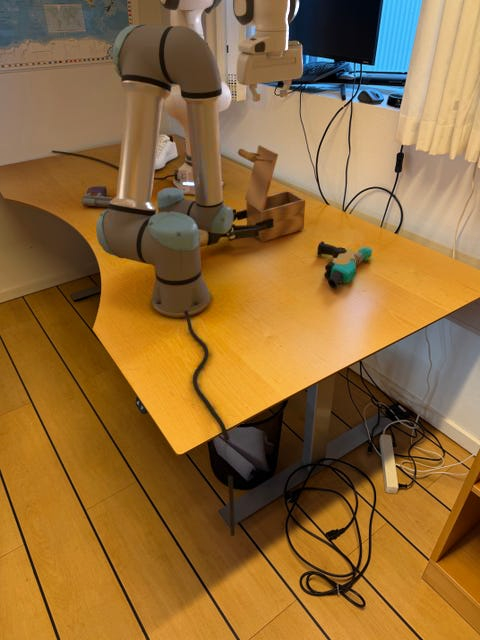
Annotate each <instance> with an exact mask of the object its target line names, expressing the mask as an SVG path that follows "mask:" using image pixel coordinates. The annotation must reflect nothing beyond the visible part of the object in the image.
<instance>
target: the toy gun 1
mask: <svg viewBox="0 0 480 640" xmlns="http://www.w3.org/2000/svg"><path fill="white" fill-rule="evenodd" d="M107 193H108V188H107V186H106V185H93V186H91V187H88V188H87V190H86V195H85V194H84V195H83V196H82V199H81V201H80V204H82V206H87V207H99V208H109V202H110V201H111V200H112V199H114V198H115V197H112V196H109V197H108V196H107Z"/></svg>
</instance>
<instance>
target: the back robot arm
mask: <svg viewBox="0 0 480 640" xmlns="http://www.w3.org/2000/svg"><path fill="white" fill-rule="evenodd" d="M222 1H223V0H159V3H160V4H161V5H162V7H163V8H164V9H167V10H169V11H170V13H169V15H170V16H169V17H170V19H169V20H170V23H169V24H170V26H184V27H188V28H190V29H192V30H194V31H195V32H197V33H198V34H199V35H200V36H201V37H202V38H203V39H204V40H205V36H204V30H203V25H202V15H203V12H205V13H206V14H210V13H211V12H212V10H214V9H216V8H217V7H218V6H220V4H221V3H222ZM299 7H300V0H232V10H233V15H234V17H235V19H236V20H237V22H238V23H239V24H240V25H241V26H245V27H254V34H253V35H251V36H250V37H247V38H245V39H244V40H242V41H240V42H239V43H238V46H237V47H238V52H240V53H239V55H238V56H237V59H236V81H237V82H238V84H239V85H241V86H248V89H249V91H250V93H251V96H252V102H254V103H257V102H260V101H261V94H259V93H258V91H257V88H258V84H259V85H261V84H265V83H274V82H281V81H282V83H283V87H282V88H281V89H279V98H283V99H284V98H288V91H289V89H290V88H291V85H292V80H298V79H301V77H302V76H303V73H304V64H303V62H304V61H303V45H302V43H300V42H299V40H289V25H290V24H291V23H292V21H294V19H295V17H297V13H298V11H299ZM221 85H222V96H221V97H220V98H219V99H218V111H219V113H221V112H223V111H226V110H228V109H229V107H230V105H231V102H232V92H231V89H230V87H229V86H228V84H227V83H226V82H225V81H223V80H221ZM163 107H164V109H165V112H166V113H167V114H168V116H170V117H171V118H173V119H174V120H175V121H176V122H177V123H178V124H179V125H180V127H181V129H182V131H183V134H184V139H185V147H186V152H184V153H183V154H184V163H183V164H181V165H180V167H179V168H178V169H174V171H173V174H169V175H165V176H164V177H154V180H166V179H168V178H173V177H174V179H173V180H172V184H173V185H174V186H175V188H178V189H180V190H182V191H183V194H184V195H194V196H195V190H194V179H193V169H192V158H191V148H190V137H189V127H188V116H187V106H186V101H185V100H184V99H183V98H182V97H181V90H180V86H179V84H175V85H174V86H171V94H170V96H169V97H167V98H166V99H165V100H164V101H163ZM51 153H58V154H65V155H72V156H77V157H82V158H87V159H91V160H95V161H98V162H101V163H103V164H106V165H108V166H111V167H113V168H116V169H118V170H119V165H118V166H117V165H116V164H113V163H110V162H109V161H105V160H103V159H100V158H97V157H94V156H89V155H85V154H80V153H74V152H67V151H60V150H51ZM223 186H224V181H223V180H222V187H223Z"/></svg>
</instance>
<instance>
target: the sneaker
mask: <svg viewBox="0 0 480 640" xmlns="http://www.w3.org/2000/svg"><path fill="white" fill-rule="evenodd" d="M178 156H179V155H178V149H177V144H176V140H175V136H174V135H173V134H164V133H161V134H159V139H158V148H157V156H156V164H155V171H156V170H160V169H162V168H164V167H165V166H166V164H167V163H168V162H170V161H172V160H175V159H176V158H177V157H178Z"/></svg>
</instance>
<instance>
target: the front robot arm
mask: <svg viewBox="0 0 480 640" xmlns="http://www.w3.org/2000/svg"><path fill="white" fill-rule="evenodd" d="M112 62H113V64H114V65H115V66H114V69H115V72H116V74H117V75H118V76H119V78H120V79H121V81H120V85H121V87H122V88H123V89H124V91H125V93H126V98H125V107H124V117H123V126H122V134H121V145H120V153H119V154H120V155H119V165H118V167H119V169H118V173H117V174H118V175H117V185H116V195H115V196H114V197H113V198H114V199H112V200H111V201H110V202H109V207H108V208H107V209H104V210H103V211H102V212H101V213H100V216H98V218H97V221H96V227H95V228H96V229H95V232H96V239H97V241H98V244H99V245H100V247H101V248H102V250H103V251H104V252H105V253H107V254H108V255H111V256H115V257H117V258H118V259H125V260H130V261H134V262H138V263H141V264H148V265H151V266H153V268H154V274H155V275H154V276H155V281H154V284H153V290H152V294H151V305H152V308H153V310H154V311H155V312H156V313H157V314H159V315H160V316H163V317H167V318H171V319H183V318H185V319H186V323H187V328H188V332H189V333H190V335H191V336H192V338H193V339H194V340H195V341H196V342H197V343H198V344H199V345H200V346H201V347H202V349H203V351H204V355H203V358H202V360H201V361H200V363H199V365H198V366H197V367H196V369H195V370H194V372H193V375H192V385H193V388H194V391H195V393H196V394H197V396H198V397H199V399H201V401H202V402H203V403H204V405H205V406H206V408H207V410H208V411H209V413H210V414H211V416H212V417H213V418H214V420H215V421H216V422H217V424H218V426H219V428H220V430H221V433H222V436H223V439H224V441H225V442H228V441H230V437H229V433H228V429H227V427H226V425H225V423H224V421H223V420H222V418H221V417H220V415H219V414H218V412H216V410H215V409H214V408H213V406H212V404H211V403H210V401H209V400H208V399H207V397H206V396H205V394H204V393H203V392H202V391H201V389H200V387H199V385H198V376H199V373H200V372H201V370H202V368H203V367H204V366H205V365H206V363H207V361H208V359H209V349H208V346H207V345H206V343H205V342H204V341H203V340H202V339H201V338H200V337H199V336H198V335H197V334H196V333H195V331H194V328H193V326H192V321H191V317H194V316H196V315H199V314H201V313H202V312H204V311H205V310H207V308H208V307H209V306H210V303H211V294H210V293H211V292H210V290H209V288H208V286H207V284H206V281H205V278H204V277H203V275H202V262H201V261H202V259H201V248H204V247H207V246H211V245H215V244H218V243H219V241H220V240H221V239H222V238H228V241H229V242H233V241H235V240H242V239H249V238H256V236H259V231H262V230H265V229H269V228H272V227H273V222H274V219H268V220H265V221H261V222H258V223H255V225H247V224H243V225H242V224H241V225H239V224H238V225H237V224H235V223H234V222H235V221H236V220H237V221H242V220H245V219H247V209H241V210H239V211H237V209H236V208H235V209H232V208H231V207H230V206H227V205H225V204H224V194H223V193H224V191H223V186H222V181H223V172H222V152H221V135H220V133H221V132H220V112H219V111H218V99H219V98H220V97H221V96H222V85H221V81H222V78H221V72H220V68H219V65H218V62H217V60H216V58H215V55H214V53H213V52H212V49H211V48H210V46H209V45H208V43H207V41H206V40H205V38H204V39H203V38H202V37H201V36H200V35H199V34H198V33H197V32H195V31H194V30H192V29H190V28H188V27H184V26H171V25H153V24H145V23H144V24H143V23H142V24H141V23H140V24H137V25H129V26H126V27H124V29H122V30H121V31H120V32H119V33H118V35H117V36H116V38H115V40H114V44H113V49H112ZM172 85H179V86H180V90H181V97H182V98H183V99H184V100H185V101H186V106H187V116H188V127H189V137H190V148H191V158H192V169H193V179H194V190H195V195H194V198H195V199H194V200H192V199H187V198H185V194H183V191H182V190H180V189H178V188H177V187H167V188H162V189H161V190H160V191H158V193H157V194H156V201H157V202H156V203H157V206H156V207H157V208H156V207H155V205H154V204H153V203H152V196H153V187H154V182H155V181H154V180H155V179H154V178H155V172H156V170H155V164H156V156H157V148H158V139H159V135H160V129H161V123H162V113H163V107H164V100H165V99H166V98H167V97H169V96H170V94H171V87H173V86H172ZM233 479H234V478H233V475H227V482H228V485H227V486H228V501H229V503H228V505H229V527H230V536H231V537H234V536H235V535H236V531H235V529H236V528H235V499H234V498H235V497H234V496H235V495H234V480H233Z"/></svg>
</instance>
